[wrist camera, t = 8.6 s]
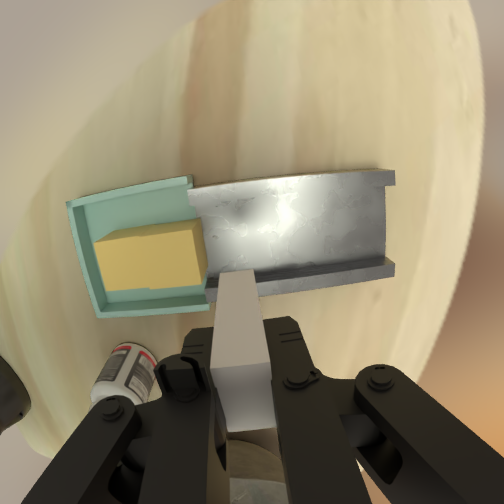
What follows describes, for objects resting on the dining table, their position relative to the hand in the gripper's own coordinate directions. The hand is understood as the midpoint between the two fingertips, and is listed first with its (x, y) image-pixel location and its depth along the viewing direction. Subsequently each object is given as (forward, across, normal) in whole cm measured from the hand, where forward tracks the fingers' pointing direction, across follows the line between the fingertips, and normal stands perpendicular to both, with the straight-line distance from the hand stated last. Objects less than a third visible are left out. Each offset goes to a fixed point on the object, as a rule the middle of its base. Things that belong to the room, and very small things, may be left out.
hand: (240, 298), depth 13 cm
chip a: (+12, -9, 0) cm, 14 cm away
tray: (+12, -8, 0) cm, 15 cm away
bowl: (+12, -5, -30) cm, 33 cm away
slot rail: (+12, +5, 0) cm, 13 cm away
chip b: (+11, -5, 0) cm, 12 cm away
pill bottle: (+13, -13, -12) cm, 22 cm away
